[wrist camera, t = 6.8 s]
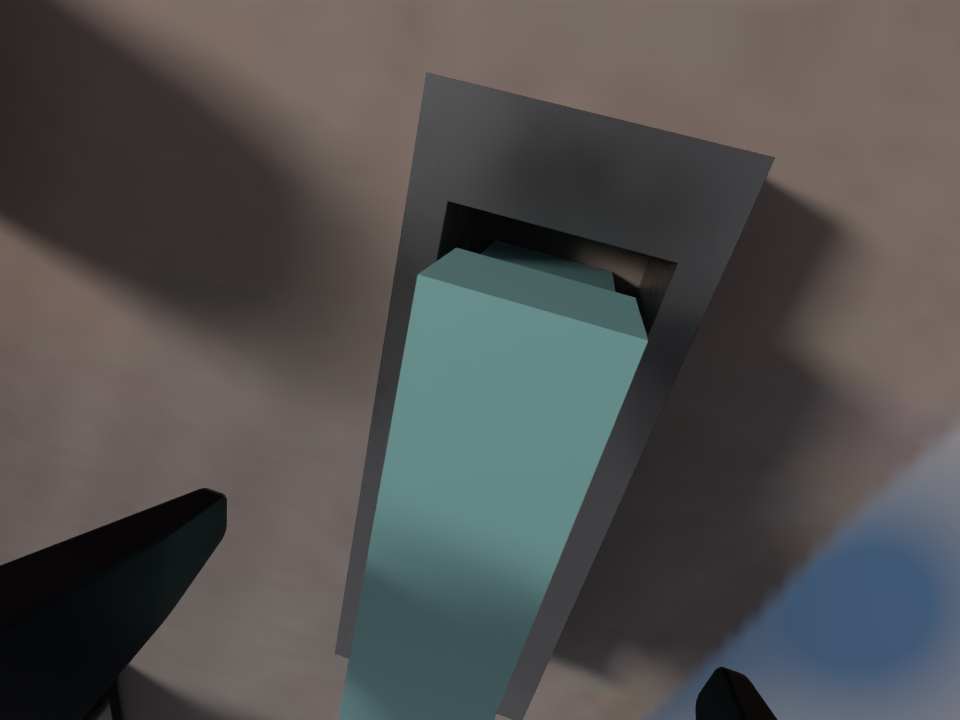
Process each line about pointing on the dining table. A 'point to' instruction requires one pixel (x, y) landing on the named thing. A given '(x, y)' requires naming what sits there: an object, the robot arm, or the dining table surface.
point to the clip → (484, 474)
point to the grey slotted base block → (578, 211)
